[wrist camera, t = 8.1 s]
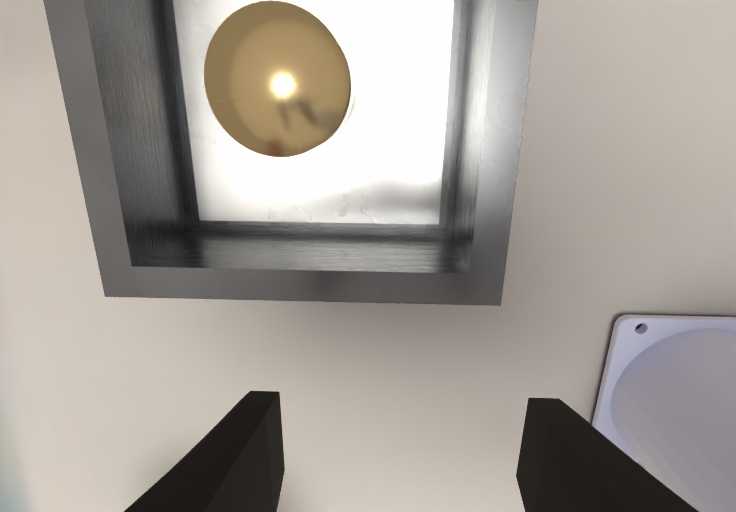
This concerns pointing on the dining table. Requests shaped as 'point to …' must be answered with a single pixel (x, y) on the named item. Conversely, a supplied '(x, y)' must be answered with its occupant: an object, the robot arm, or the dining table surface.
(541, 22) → the dining table surface
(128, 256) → the press housing
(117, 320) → the dining table surface
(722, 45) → the dining table surface
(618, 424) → the robot arm
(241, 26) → the plunger
